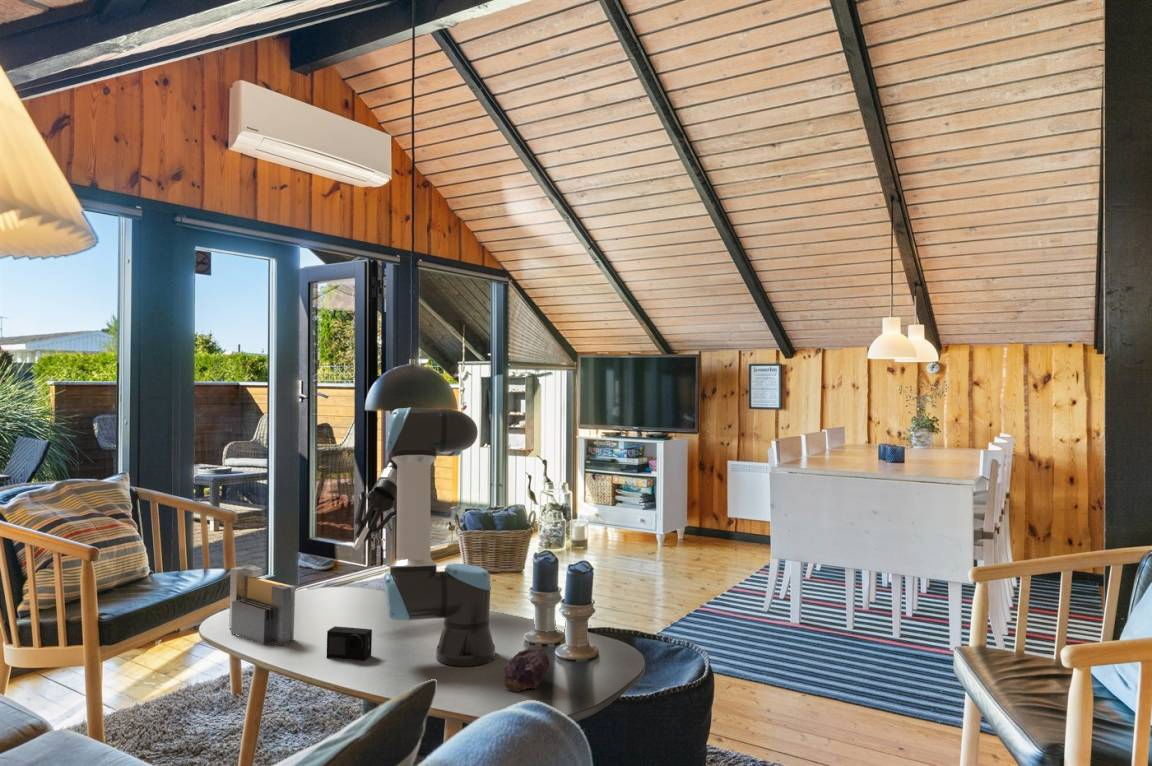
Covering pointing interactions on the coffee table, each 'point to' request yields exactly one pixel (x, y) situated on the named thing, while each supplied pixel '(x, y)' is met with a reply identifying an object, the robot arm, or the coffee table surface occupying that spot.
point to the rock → (526, 669)
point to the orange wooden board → (269, 595)
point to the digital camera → (349, 643)
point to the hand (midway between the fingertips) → (356, 547)
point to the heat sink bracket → (258, 609)
